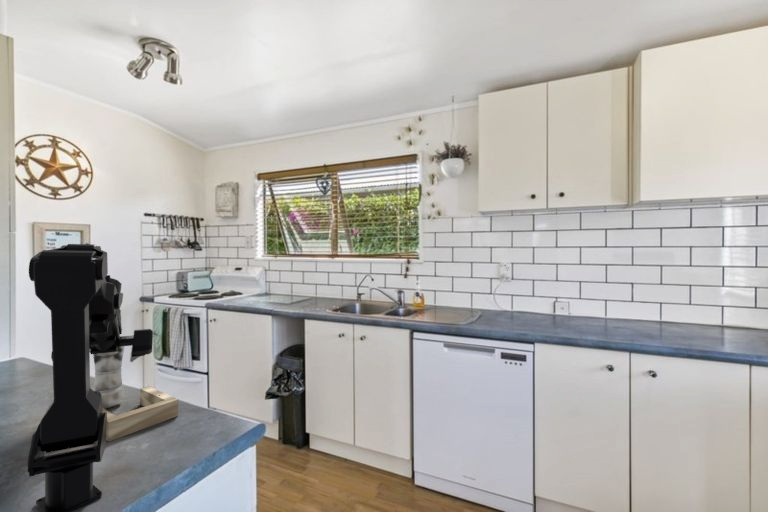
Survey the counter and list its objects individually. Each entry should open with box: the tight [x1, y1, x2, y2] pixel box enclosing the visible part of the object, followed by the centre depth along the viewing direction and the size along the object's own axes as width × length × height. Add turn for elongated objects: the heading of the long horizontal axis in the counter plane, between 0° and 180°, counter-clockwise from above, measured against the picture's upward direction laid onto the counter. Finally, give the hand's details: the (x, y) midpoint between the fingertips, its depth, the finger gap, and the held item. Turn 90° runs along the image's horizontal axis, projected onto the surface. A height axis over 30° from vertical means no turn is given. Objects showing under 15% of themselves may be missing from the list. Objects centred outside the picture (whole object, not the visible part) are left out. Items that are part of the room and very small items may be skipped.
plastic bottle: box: [92, 346, 125, 409], centre depth 90 cm, size 6×7×20 cm
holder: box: [103, 385, 179, 442], centre depth 84 cm, size 14×14×4 cm
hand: (109, 362), depth 91 cm, fingers open, 9 cm apart
